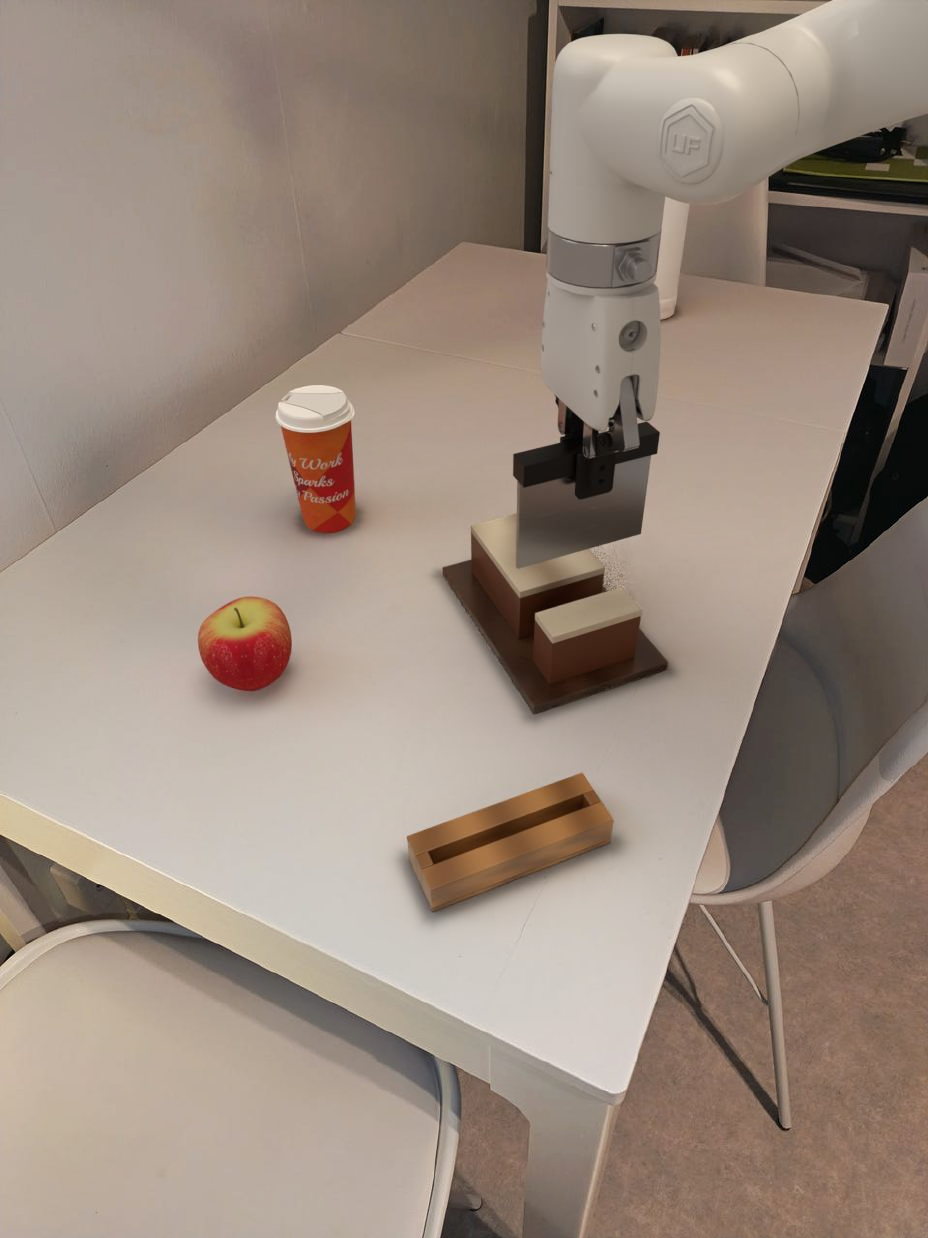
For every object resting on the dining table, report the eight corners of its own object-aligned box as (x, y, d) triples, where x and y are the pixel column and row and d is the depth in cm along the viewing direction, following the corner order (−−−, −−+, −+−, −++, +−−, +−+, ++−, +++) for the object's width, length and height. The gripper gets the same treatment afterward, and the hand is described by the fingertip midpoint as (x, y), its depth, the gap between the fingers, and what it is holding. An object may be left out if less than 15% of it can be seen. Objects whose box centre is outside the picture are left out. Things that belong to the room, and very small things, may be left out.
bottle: (679, 305, 147) (709, 99, 127) (669, 323, 141) (699, 112, 121) (632, 298, 149) (654, 96, 129) (620, 316, 144) (641, 108, 124)
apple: (210, 717, 80) (185, 635, 73) (208, 653, 86) (185, 573, 79) (302, 700, 81) (285, 618, 74) (293, 639, 87) (277, 559, 81)
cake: (558, 542, 99) (562, 488, 94) (667, 669, 83) (677, 613, 79) (442, 574, 95) (440, 520, 90) (533, 714, 79) (536, 658, 75)
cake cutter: (634, 526, 79) (647, 420, 72) (645, 539, 77) (660, 432, 70) (511, 561, 75) (512, 453, 68) (521, 574, 74) (524, 465, 67)
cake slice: (616, 634, 86) (622, 586, 82) (635, 657, 83) (642, 609, 79) (532, 660, 83) (534, 612, 79) (549, 685, 81) (552, 637, 77)
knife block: (579, 795, 73) (582, 772, 71) (610, 842, 69) (614, 819, 67) (408, 858, 68) (406, 835, 66) (432, 912, 65) (430, 890, 63)
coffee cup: (282, 532, 101) (259, 414, 91) (312, 493, 107) (294, 378, 97) (350, 544, 99) (335, 424, 89) (376, 504, 105) (365, 387, 95)
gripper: (717, 284, 55) (678, 525, 67) (593, 213, 66) (579, 431, 79) (612, 305, 53) (591, 550, 65) (502, 228, 64) (502, 450, 77)
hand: (585, 484), depth 72 cm, fingers closed on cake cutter, 2 cm apart
